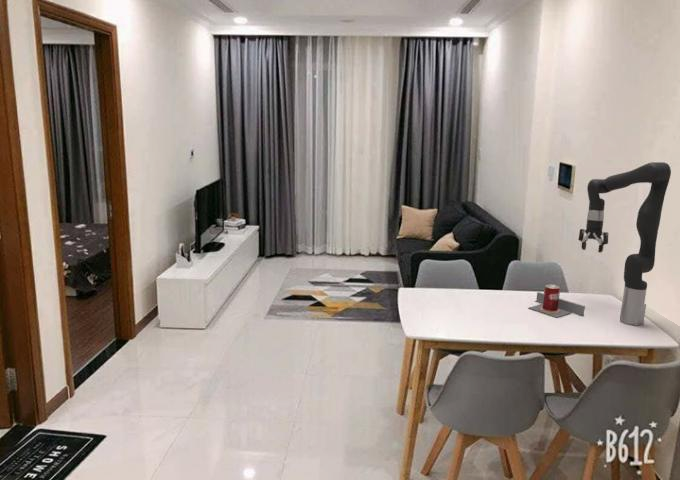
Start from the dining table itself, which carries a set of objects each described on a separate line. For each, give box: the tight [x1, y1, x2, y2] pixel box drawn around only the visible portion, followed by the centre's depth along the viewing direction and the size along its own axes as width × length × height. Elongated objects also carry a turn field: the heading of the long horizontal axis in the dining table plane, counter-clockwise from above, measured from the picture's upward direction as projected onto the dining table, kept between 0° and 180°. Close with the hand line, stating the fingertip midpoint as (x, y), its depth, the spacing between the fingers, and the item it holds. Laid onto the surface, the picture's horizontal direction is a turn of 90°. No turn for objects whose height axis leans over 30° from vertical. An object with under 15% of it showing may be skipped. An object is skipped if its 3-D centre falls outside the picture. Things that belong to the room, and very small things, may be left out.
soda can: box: [542, 284, 561, 312], centre depth 274 cm, size 7×7×12 cm
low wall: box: [535, 291, 586, 317], centre depth 279 cm, size 26×1×5 cm, turn 35°
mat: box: [528, 303, 572, 319], centre depth 275 cm, size 16×12×1 cm
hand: (591, 251), depth 280 cm, fingers open, 8 cm apart
